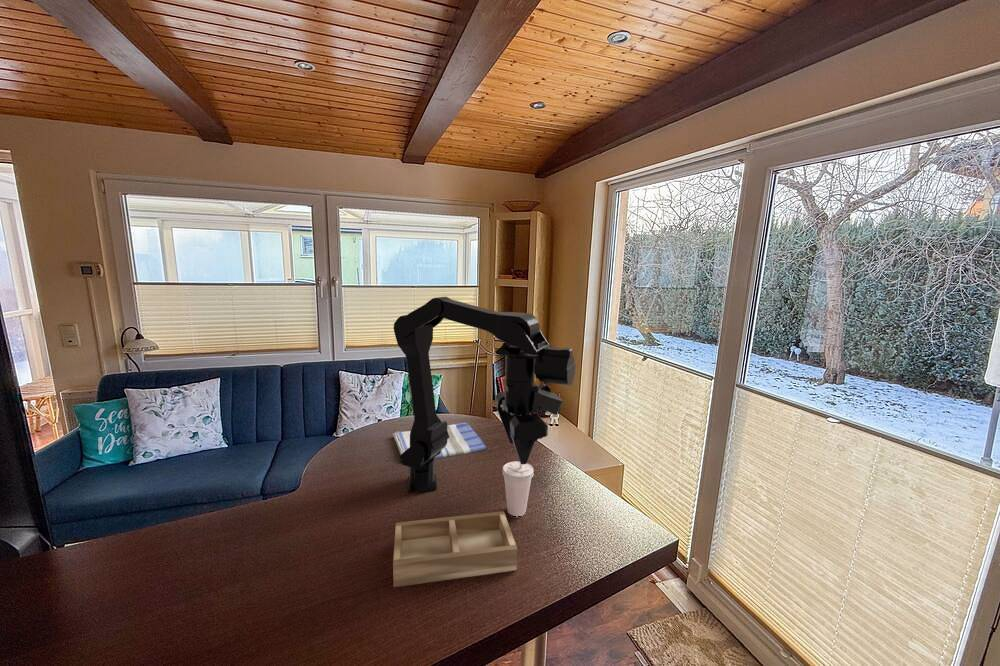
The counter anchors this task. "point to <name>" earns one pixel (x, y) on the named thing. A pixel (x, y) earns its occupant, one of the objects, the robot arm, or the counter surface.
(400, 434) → the dish towel
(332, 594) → the counter surface
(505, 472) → the smoothie
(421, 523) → the tray
